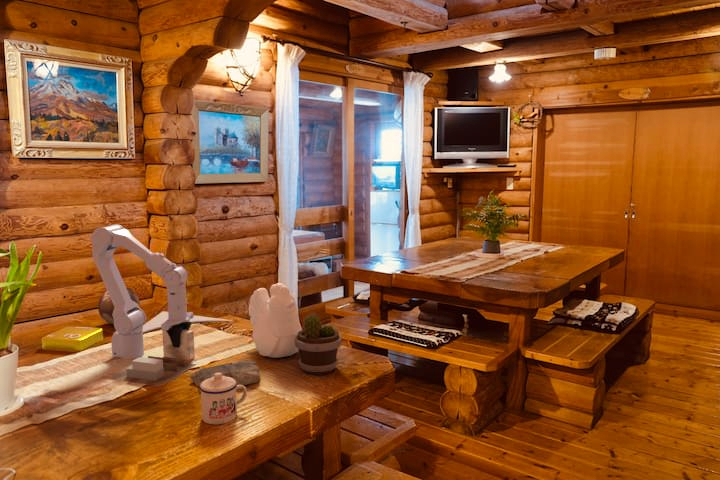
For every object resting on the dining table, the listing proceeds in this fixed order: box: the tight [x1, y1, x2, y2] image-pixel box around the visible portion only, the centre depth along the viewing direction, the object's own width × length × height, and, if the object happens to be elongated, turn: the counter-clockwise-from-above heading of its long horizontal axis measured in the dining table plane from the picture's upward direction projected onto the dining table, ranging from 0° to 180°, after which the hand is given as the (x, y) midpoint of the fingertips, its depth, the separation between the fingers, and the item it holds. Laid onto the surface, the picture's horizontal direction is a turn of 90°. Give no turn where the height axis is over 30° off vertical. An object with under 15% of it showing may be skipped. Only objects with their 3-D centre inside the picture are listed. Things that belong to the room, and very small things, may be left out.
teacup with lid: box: [199, 373, 248, 425], centre depth 144 cm, size 12×9×12 cm
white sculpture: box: [248, 282, 303, 358], centre depth 191 cm, size 25×16×25 cm, turn 31°
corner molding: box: [143, 310, 234, 334], centre depth 216 cm, size 30×2×30 cm
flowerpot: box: [294, 310, 343, 376], centre depth 175 cm, size 14×15×20 cm
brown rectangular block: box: [161, 329, 196, 361], centre depth 184 cm, size 10×2×9 cm, turn 73°
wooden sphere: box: [97, 287, 141, 326], centre depth 223 cm, size 15×15×15 cm
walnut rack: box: [108, 355, 197, 387], centre depth 172 cm, size 18×18×3 cm
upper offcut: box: [131, 356, 163, 372], centre depth 168 cm, size 8×4×2 cm, turn 73°
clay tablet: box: [189, 360, 261, 388], centre depth 167 cm, size 14×5×20 cm
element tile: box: [41, 326, 104, 353], centre depth 201 cm, size 15×15×5 cm
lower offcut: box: [125, 365, 164, 381], centre depth 168 cm, size 10×4×2 cm, turn 73°
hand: (179, 345), depth 184 cm, fingers closed on brown rectangular block, 2 cm apart
